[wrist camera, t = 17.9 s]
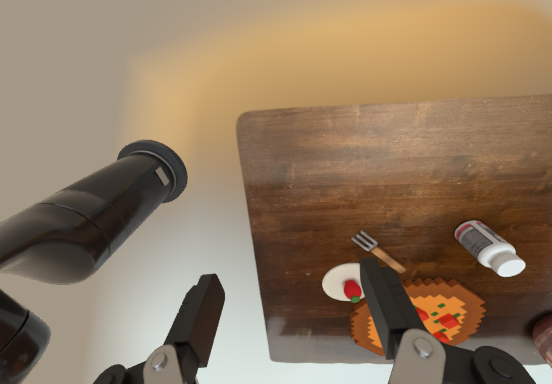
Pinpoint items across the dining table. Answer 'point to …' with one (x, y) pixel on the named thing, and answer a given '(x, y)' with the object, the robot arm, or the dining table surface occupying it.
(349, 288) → the strawberry
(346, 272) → the plate
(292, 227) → the dining table surface
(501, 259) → the pill bottle
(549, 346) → the pottery
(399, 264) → the fork
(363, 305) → the pizza
